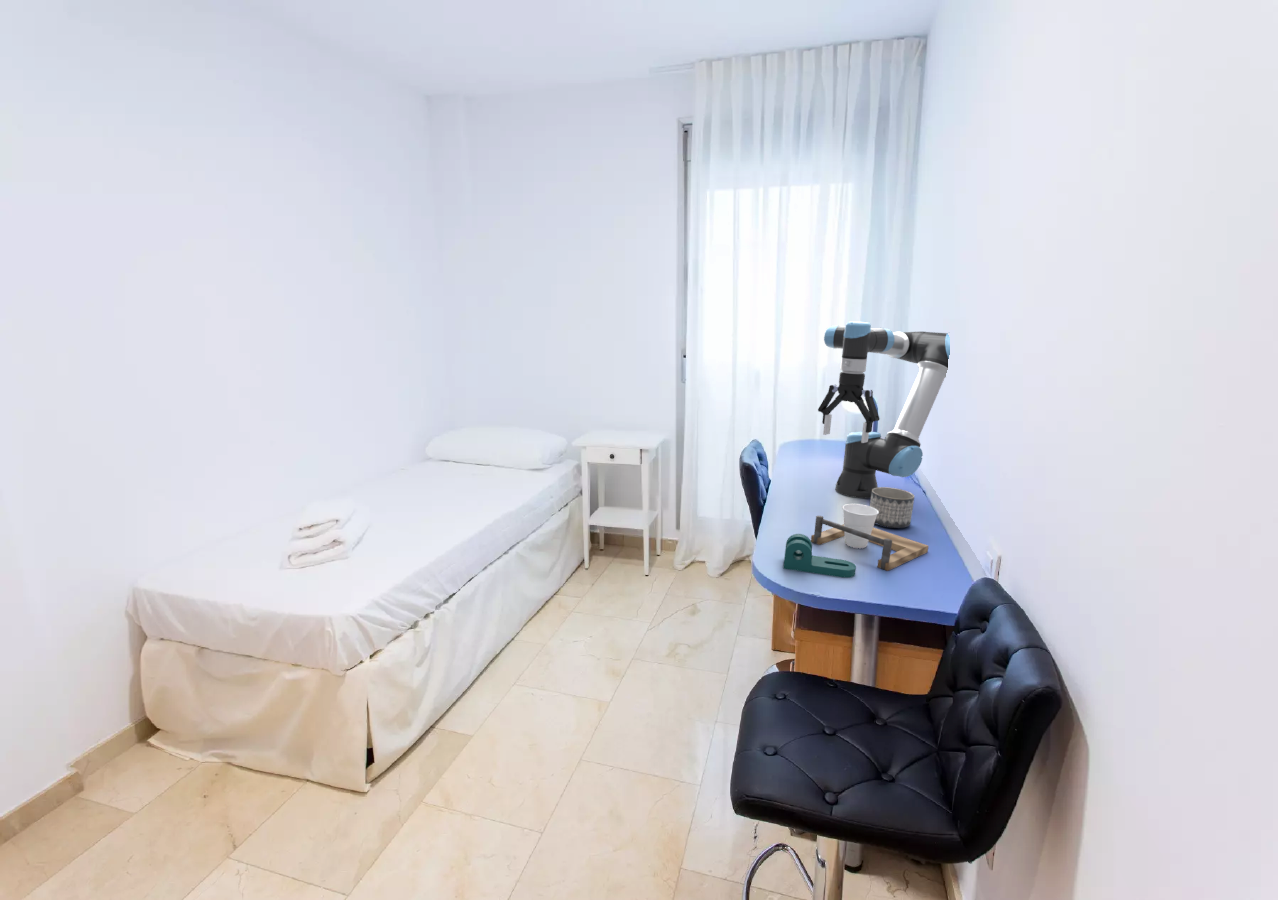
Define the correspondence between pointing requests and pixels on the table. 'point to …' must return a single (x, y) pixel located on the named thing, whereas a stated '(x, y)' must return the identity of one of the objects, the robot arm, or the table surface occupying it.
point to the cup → (858, 523)
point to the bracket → (813, 559)
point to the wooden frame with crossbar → (888, 540)
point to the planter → (892, 506)
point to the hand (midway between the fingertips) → (844, 438)
